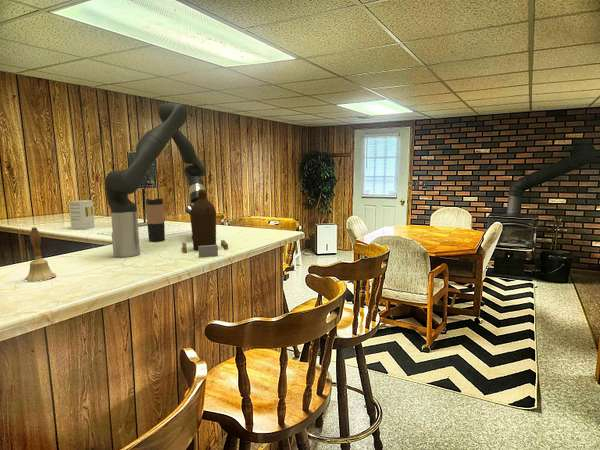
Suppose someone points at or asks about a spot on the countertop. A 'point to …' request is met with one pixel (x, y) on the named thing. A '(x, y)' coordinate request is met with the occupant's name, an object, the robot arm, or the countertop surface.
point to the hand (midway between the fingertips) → (201, 223)
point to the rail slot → (221, 244)
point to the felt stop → (208, 250)
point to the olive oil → (203, 221)
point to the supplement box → (81, 214)
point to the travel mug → (155, 220)
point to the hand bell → (38, 261)
